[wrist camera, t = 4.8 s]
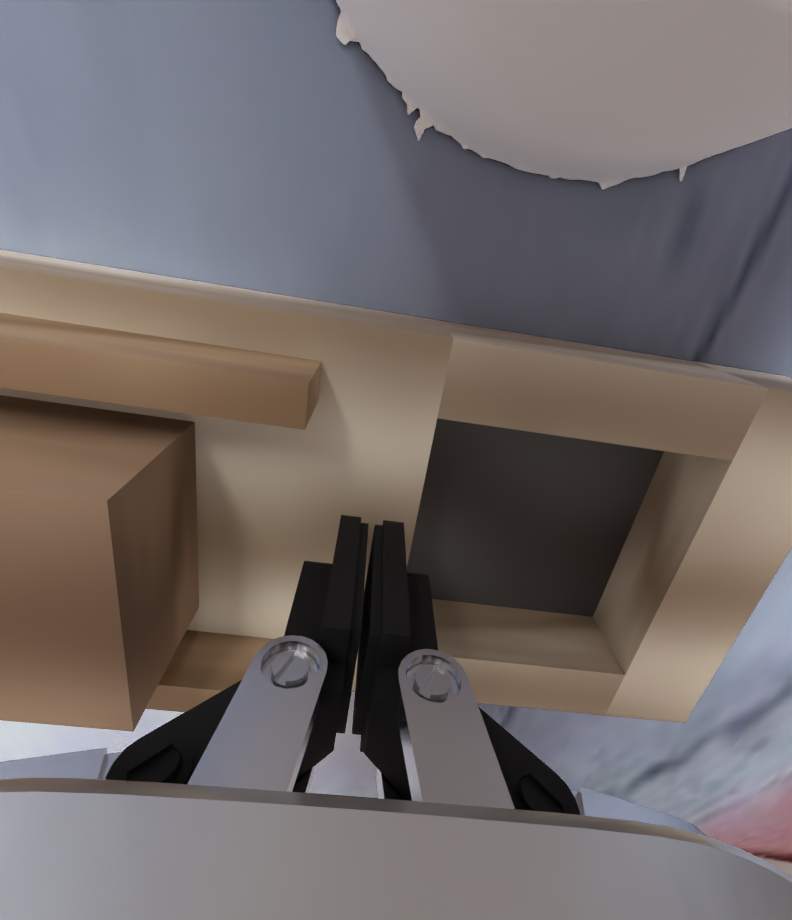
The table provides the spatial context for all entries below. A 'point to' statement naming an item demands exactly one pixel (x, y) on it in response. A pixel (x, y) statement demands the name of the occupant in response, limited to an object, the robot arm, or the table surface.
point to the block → (92, 560)
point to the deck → (436, 477)
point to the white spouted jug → (585, 77)
